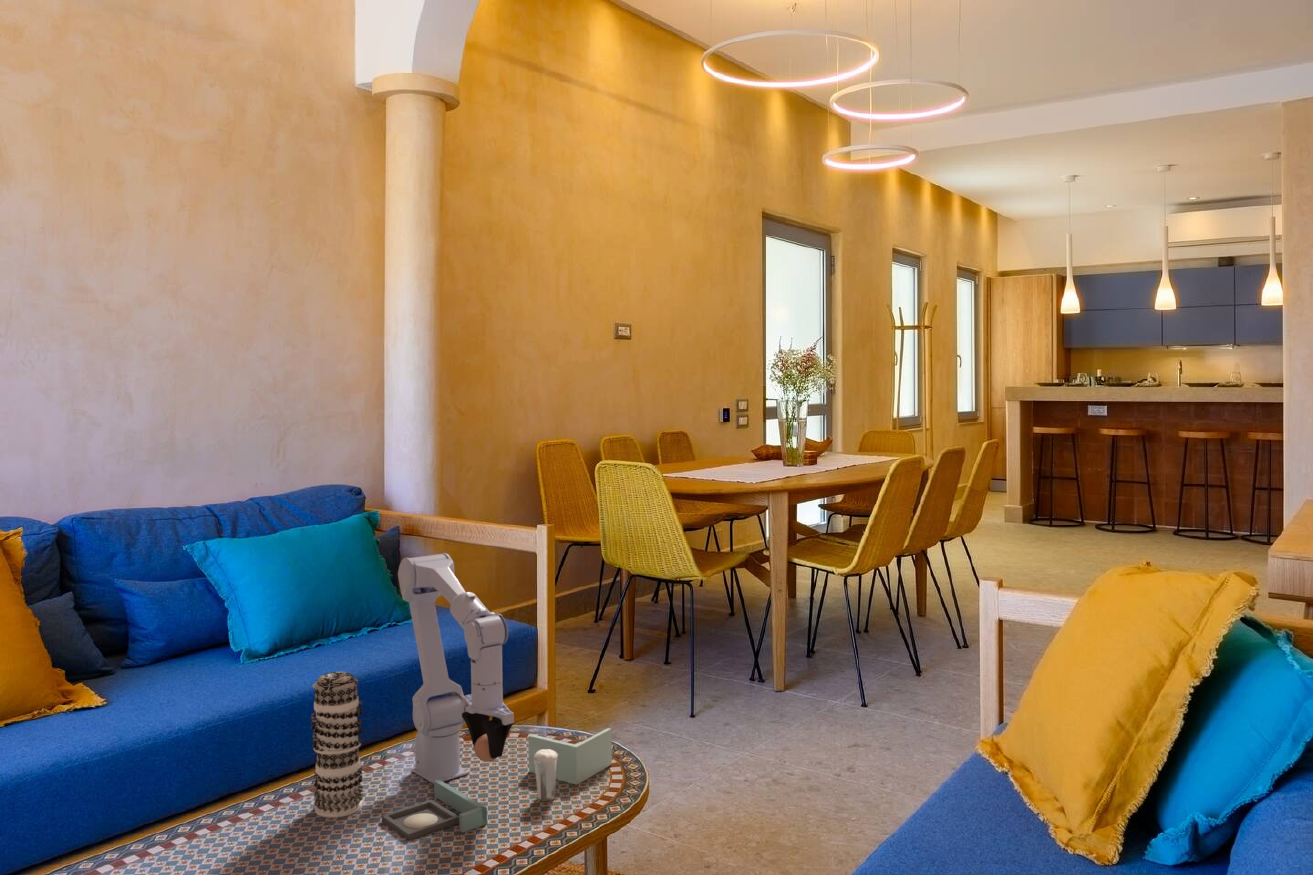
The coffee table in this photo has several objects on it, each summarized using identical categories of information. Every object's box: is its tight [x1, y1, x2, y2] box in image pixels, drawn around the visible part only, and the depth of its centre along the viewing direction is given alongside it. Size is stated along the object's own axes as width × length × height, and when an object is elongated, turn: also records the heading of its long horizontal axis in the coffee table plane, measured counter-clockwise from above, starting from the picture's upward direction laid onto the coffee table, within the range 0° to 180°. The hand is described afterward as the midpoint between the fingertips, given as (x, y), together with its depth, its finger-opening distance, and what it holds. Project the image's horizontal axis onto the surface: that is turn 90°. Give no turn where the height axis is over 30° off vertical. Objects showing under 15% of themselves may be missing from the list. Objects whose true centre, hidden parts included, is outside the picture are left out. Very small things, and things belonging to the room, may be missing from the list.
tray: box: [381, 799, 460, 842], centre depth 177 cm, size 10×10×1 cm
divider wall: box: [433, 779, 488, 834], centre depth 181 cm, size 17×5×3 cm, turn 42°
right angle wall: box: [528, 727, 613, 785], centre depth 202 cm, size 12×12×8 cm
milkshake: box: [534, 747, 562, 802], centre depth 187 cm, size 4×5×10 cm
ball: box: [473, 734, 497, 763], centre depth 184 cm, size 5×5×5 cm
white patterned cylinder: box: [310, 671, 364, 819], centre depth 183 cm, size 9×9×25 cm
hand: (488, 752), depth 184 cm, fingers closed on ball, 5 cm apart
